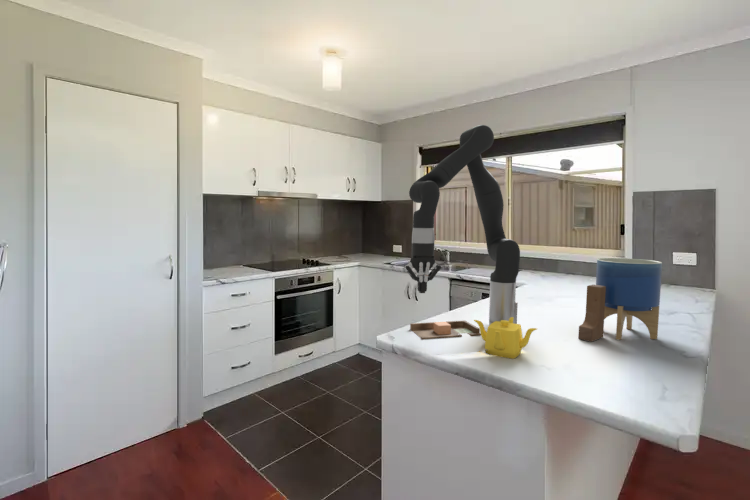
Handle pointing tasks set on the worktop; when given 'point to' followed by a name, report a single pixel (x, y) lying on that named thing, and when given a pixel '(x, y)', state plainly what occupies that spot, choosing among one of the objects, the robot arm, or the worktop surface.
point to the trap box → (456, 328)
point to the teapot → (504, 338)
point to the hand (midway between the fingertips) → (421, 292)
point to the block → (442, 328)
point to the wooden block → (593, 314)
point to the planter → (631, 291)
